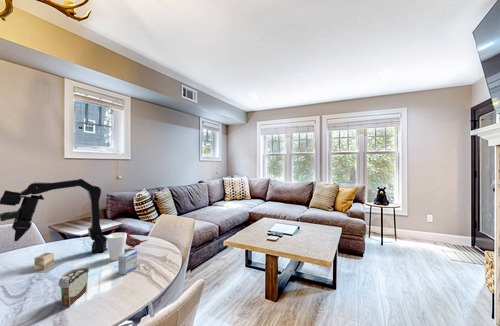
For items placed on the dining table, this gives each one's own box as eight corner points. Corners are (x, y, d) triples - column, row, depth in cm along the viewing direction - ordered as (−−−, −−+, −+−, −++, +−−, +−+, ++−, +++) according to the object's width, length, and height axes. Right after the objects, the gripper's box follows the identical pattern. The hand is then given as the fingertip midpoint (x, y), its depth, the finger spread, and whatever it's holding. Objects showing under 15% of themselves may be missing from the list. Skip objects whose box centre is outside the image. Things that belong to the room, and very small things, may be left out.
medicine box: (125, 275, 105) (126, 256, 105) (117, 274, 105) (118, 256, 105) (137, 267, 112) (137, 250, 112) (129, 266, 113) (130, 249, 113)
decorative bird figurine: (123, 247, 139) (123, 231, 139) (148, 249, 136) (149, 233, 136) (119, 249, 136) (120, 233, 136) (146, 251, 133) (146, 234, 133)
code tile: (65, 262, 117) (65, 261, 117) (46, 273, 105) (46, 272, 105) (41, 262, 116) (41, 262, 116) (20, 273, 104) (20, 273, 104)
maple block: (53, 264, 114) (54, 252, 114) (43, 269, 108) (44, 257, 108) (44, 264, 113) (44, 253, 113) (34, 270, 107) (34, 257, 107)
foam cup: (102, 260, 120) (103, 236, 120) (118, 253, 129) (118, 231, 129) (114, 263, 117) (115, 238, 117) (129, 256, 125) (130, 233, 125)
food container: (73, 290, 91) (73, 266, 91) (88, 290, 91) (89, 266, 92) (48, 310, 79) (49, 282, 79) (66, 309, 79) (67, 282, 79)
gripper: (6, 202, 111) (-6, 233, 109) (3, 207, 98) (-11, 243, 95) (36, 205, 119) (25, 234, 116) (36, 210, 106) (24, 244, 103)
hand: (16, 238), depth 107 cm, fingers open, 9 cm apart
